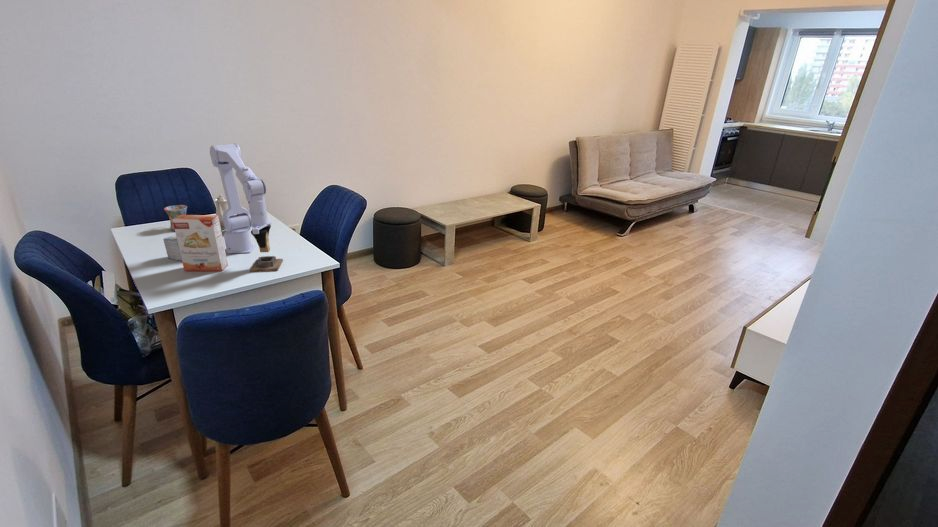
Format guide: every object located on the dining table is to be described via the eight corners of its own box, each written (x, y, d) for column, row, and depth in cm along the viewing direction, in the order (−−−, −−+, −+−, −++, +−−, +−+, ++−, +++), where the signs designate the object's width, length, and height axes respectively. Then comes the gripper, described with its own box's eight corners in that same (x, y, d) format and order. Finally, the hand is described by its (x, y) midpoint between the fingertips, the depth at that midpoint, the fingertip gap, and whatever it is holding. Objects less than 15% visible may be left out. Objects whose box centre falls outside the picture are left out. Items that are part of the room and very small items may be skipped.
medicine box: (192, 257, 183) (187, 237, 179) (182, 261, 179) (177, 241, 175) (177, 254, 185) (172, 235, 181) (167, 258, 181) (162, 238, 178)
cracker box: (183, 271, 170) (170, 218, 162) (191, 265, 175) (179, 214, 167) (222, 271, 171) (211, 219, 163) (228, 265, 176) (218, 214, 168)
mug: (194, 229, 214) (189, 208, 210) (172, 233, 208) (166, 211, 203) (187, 223, 221) (182, 202, 217) (165, 227, 215) (160, 206, 211)
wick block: (260, 252, 173) (256, 232, 170) (262, 249, 175) (258, 230, 172) (268, 252, 173) (265, 232, 170) (270, 249, 176) (267, 230, 173)
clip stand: (250, 271, 171) (248, 264, 170) (256, 261, 180) (255, 254, 179) (277, 270, 173) (276, 263, 172) (283, 260, 182) (282, 254, 181)
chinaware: (245, 238, 210) (243, 203, 204) (205, 236, 205) (202, 201, 199) (255, 220, 235) (254, 189, 229) (220, 218, 230) (217, 186, 224)
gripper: (264, 217, 162) (270, 252, 167) (273, 206, 175) (278, 239, 181) (244, 217, 161) (250, 252, 166) (254, 206, 174) (260, 239, 179)
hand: (263, 245), depth 173 cm, fingers closed on wick block, 3 cm apart
